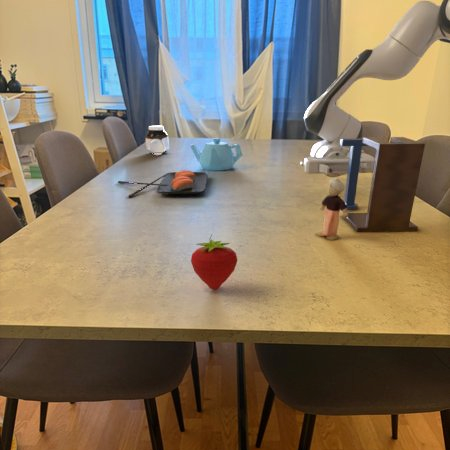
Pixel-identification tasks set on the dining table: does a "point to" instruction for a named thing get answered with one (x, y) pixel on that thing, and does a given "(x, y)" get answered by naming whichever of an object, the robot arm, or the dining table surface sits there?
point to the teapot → (217, 155)
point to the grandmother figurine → (333, 209)
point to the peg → (352, 170)
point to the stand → (391, 186)
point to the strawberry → (214, 263)
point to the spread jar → (157, 140)
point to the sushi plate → (178, 183)
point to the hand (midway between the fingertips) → (347, 170)
